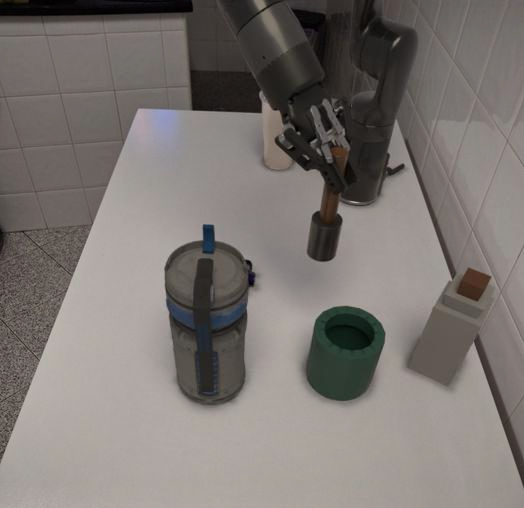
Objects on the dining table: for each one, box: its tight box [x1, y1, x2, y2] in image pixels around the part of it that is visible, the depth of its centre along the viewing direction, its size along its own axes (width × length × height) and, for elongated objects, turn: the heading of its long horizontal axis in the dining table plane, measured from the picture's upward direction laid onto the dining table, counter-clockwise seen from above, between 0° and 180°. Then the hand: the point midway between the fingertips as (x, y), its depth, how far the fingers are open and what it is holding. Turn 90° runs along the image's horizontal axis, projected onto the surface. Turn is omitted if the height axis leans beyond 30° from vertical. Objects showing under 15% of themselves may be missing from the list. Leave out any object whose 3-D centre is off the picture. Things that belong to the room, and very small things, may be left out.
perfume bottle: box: [407, 267, 496, 387], centre depth 75 cm, size 7×7×18 cm
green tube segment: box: [305, 305, 386, 402], centre depth 75 cm, size 10×10×10 cm
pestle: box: [306, 147, 349, 263], centre depth 70 cm, size 4×4×16 cm
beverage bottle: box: [163, 223, 250, 405], centre depth 67 cm, size 10×13×25 cm
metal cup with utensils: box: [258, 27, 319, 171], centre depth 107 cm, size 11×11×30 cm
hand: (347, 186), depth 66 cm, fingers closed on pestle, 2 cm apart
